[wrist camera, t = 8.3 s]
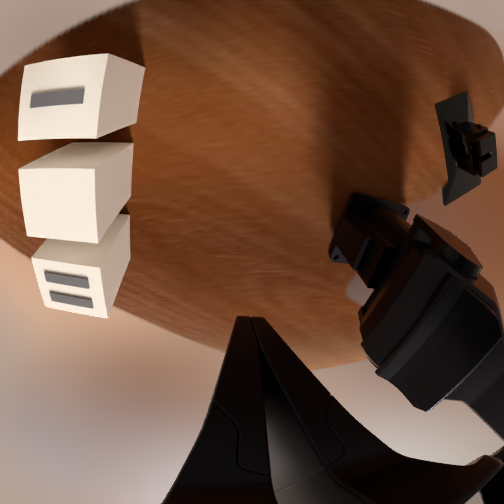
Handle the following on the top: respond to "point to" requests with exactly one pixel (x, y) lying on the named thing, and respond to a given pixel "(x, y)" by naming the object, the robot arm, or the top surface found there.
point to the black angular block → (464, 147)
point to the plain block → (76, 190)
